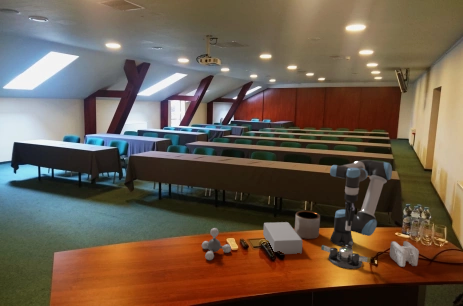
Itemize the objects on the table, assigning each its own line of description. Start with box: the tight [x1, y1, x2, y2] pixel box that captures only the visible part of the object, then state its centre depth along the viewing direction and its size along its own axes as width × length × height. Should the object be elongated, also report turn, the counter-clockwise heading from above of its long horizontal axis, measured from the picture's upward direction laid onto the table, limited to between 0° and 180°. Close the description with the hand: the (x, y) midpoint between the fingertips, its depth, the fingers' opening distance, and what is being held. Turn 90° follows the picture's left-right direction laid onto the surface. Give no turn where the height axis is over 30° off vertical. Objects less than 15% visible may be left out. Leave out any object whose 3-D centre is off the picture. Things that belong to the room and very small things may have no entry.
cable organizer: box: [389, 240, 420, 268], centre depth 201 cm, size 15×11×12 cm
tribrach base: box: [328, 246, 363, 270], centre depth 202 cm, size 20×20×8 cm
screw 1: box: [344, 241, 354, 250], centre depth 210 cm, size 10×4×6 cm, turn 148°
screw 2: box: [351, 252, 371, 266], centre depth 194 cm, size 10×4×6 cm, turn 69°
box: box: [262, 221, 303, 255], centre depth 223 cm, size 19×30×10 cm, turn 8°
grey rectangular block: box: [320, 244, 339, 260], centre depth 204 cm, size 10×4×6 cm, turn 46°
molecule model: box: [201, 227, 232, 261], centre depth 206 cm, size 20×16×20 cm
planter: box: [294, 210, 321, 240], centre depth 238 cm, size 18×18×16 cm
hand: (347, 230), depth 199 cm, fingers closed
